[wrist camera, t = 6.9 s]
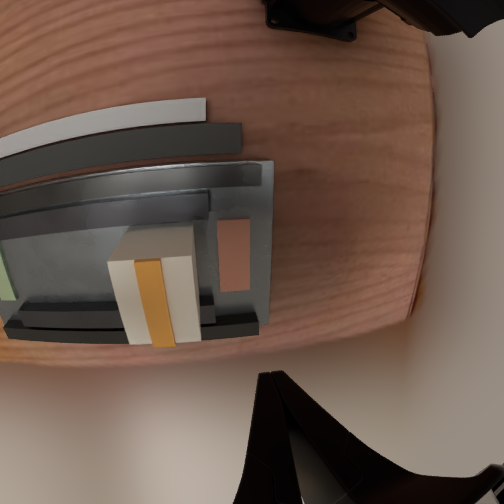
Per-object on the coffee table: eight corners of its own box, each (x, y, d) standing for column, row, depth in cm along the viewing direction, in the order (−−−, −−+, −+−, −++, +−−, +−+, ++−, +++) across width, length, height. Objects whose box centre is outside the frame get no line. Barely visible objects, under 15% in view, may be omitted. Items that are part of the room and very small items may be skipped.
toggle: (192, 221, 17) (191, 258, 12) (198, 292, 19) (201, 344, 14) (129, 226, 16) (105, 264, 11) (142, 295, 18) (128, 347, 13)
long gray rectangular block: (237, 100, 16) (241, 96, 14) (237, 151, 17) (241, 153, 15) (-16, 147, 12) (-29, 150, 11) (-12, 188, 14) (-25, 194, 12)
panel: (268, 158, 18) (279, 163, 15) (264, 313, 22) (272, 334, 20) (-24, 198, 14) (-43, 208, 11) (13, 321, 18) (2, 338, 16)
